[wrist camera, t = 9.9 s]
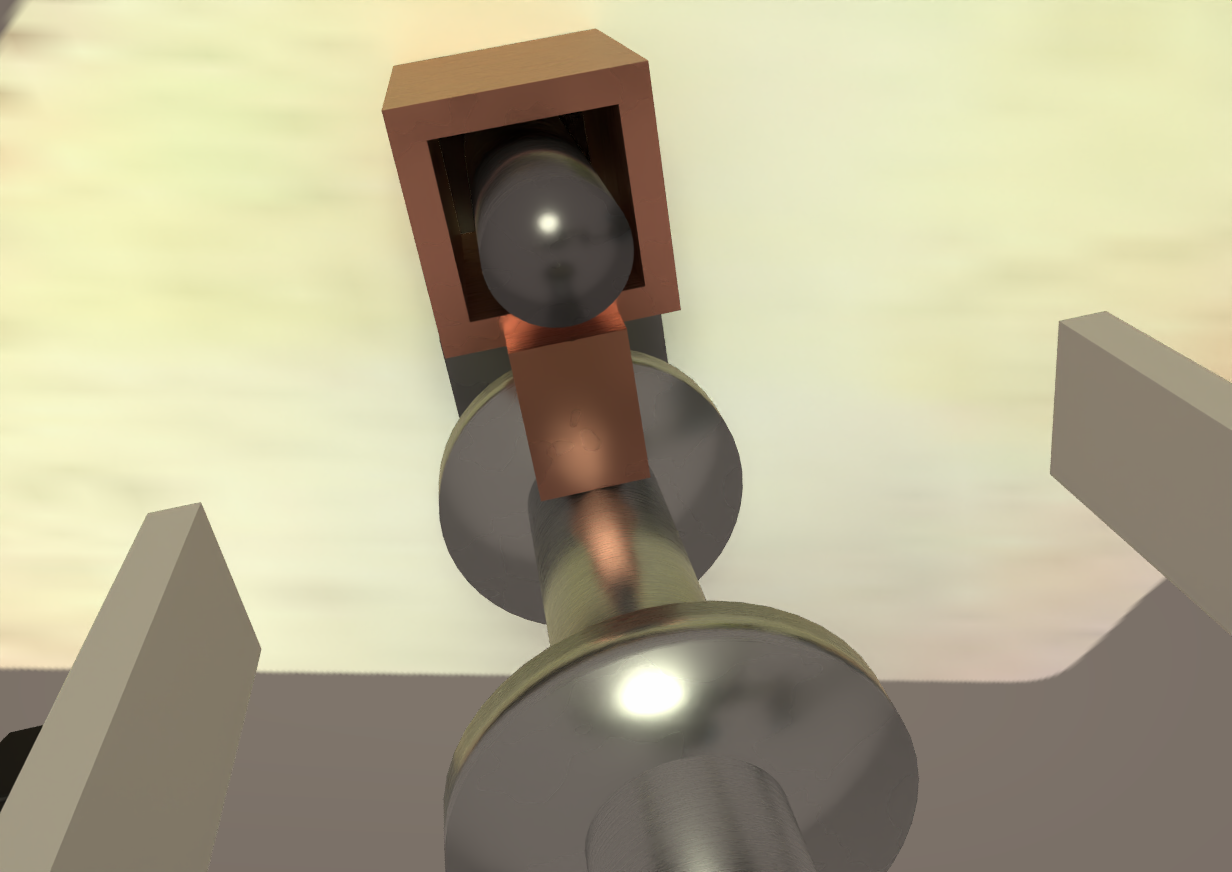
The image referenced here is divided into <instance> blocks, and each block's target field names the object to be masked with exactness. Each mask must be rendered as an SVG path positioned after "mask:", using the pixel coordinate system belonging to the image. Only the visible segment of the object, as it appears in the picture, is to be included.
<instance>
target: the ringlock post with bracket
mask: <svg viewBox="0 0 1232 872" xmlns="http://www.w3.org/2000/svg"><path fill="white" fill-rule="evenodd" d="M579 111H582V114H583V120H584V126H585V132H586V138H587V144H588V150H589V156H590V162H591V166H592V167H593V169H594V170H595V172H596V173H597V175H598V176H599V178H600V179H601V181H602V182H603V184H604V185H605V186H606V188H607V189H608V191H609V192H610V194H611V195H612V197H613V198H614V200H615V201H616V203H617V204H618V206H619V207H620V209H621V210H622V212H623V214H624V215H625V217H626V219H627V221H628V224H629V227H630V229H631V233H632V238H633V246H634V256H633V264H632V269H631V272H630V275H629V278H628V281H627V283H626V285H625V287H624V289H623V290H622V292H621V293H620V295H619V296H618V297H617V299H616V300H615V301H614V302H613V303H612V304H611V305H610V306H609V307H608V308H607V309H606V310H605V311H603V312H602V313H600V314H599V315H598V316H596V317H594V318H592V319H590V320H588V321H586V322H583V323H581V324H577V325H574V326H569V327H562V328H549V327H541V326H537V325H533V324H530V323H527V322H525V321H522V320H521V319H519V318H517V317H515V316H514V315H512V314H511V313H509V312H508V311H507V310H506V309H504V308H503V307H502V306H501V305H500V304H499V303H498V301H497V300H496V299H495V298H494V296H493V295H492V293H491V292H490V290H489V288H488V286H487V284H486V282H485V279H484V276H483V273H482V268H481V262H480V255H479V248H478V242H477V235H476V231H474V232H469V233H463V234H461V232H460V228H459V223H458V219H457V215H456V210H455V206H454V202H453V197H452V193H451V189H450V185H449V180H448V176H447V172H446V167H445V163H444V159H443V154H442V150H441V146H440V142H439V138H442V137H448V136H453V135H458V134H463V133H469V132H474V131H479V130H484V129H490V128H495V127H500V126H505V125H511V124H516V123H521V122H526V121H532V120H537V119H542V118H547V117H553V116H558V115H563V114H568V113H574V112H579ZM382 114H383V117H384V121H385V125H386V129H387V133H388V137H389V141H390V145H391V149H392V153H393V157H394V161H395V164H396V168H397V172H398V176H399V180H400V184H401V188H402V192H403V196H404V200H405V204H406V207H407V211H408V215H409V219H410V223H411V227H412V231H413V235H414V239H415V243H416V247H417V251H418V254H419V258H420V262H421V266H422V270H423V274H424V278H425V282H426V286H427V290H428V294H429V297H430V301H431V305H432V309H433V313H434V317H435V321H436V325H437V329H438V333H439V338H440V343H441V347H442V351H443V355H444V359H445V363H446V367H447V371H448V375H449V379H450V383H451V386H452V390H453V394H454V398H455V402H456V406H457V410H458V414H459V418H460V419H459V420H458V422H457V424H456V425H455V427H454V429H453V430H452V433H451V435H450V437H449V440H448V442H447V444H446V447H445V450H444V454H443V458H442V461H441V466H440V475H439V514H440V523H441V528H442V533H443V537H444V540H445V543H446V546H447V548H448V551H449V553H450V555H451V557H452V559H453V561H454V563H455V564H456V566H457V568H458V569H459V571H460V572H461V573H462V574H463V576H464V577H465V578H466V580H467V581H468V582H469V583H470V584H471V585H472V586H473V587H474V588H475V589H476V590H477V591H478V592H479V593H480V594H481V595H483V596H484V597H485V598H487V599H488V600H490V601H491V602H492V603H494V604H495V605H497V606H499V607H501V608H502V609H504V610H506V611H508V612H510V613H512V614H514V615H517V616H519V617H522V618H524V619H527V620H531V621H534V622H538V623H542V624H547V630H548V636H549V642H550V647H549V648H547V649H546V650H544V651H543V652H541V653H540V654H539V655H537V656H536V657H534V658H533V659H531V660H530V661H528V662H527V663H525V664H524V665H523V666H522V667H521V668H519V669H518V670H517V671H516V672H515V673H514V674H513V675H511V676H510V677H509V678H508V679H507V680H506V681H504V682H503V683H502V684H501V685H500V686H499V687H498V689H497V690H496V691H495V692H494V693H493V694H492V695H491V696H490V697H489V698H488V700H487V701H486V702H485V703H484V704H483V705H482V706H481V708H480V709H479V711H478V712H477V714H476V715H475V716H474V718H473V719H472V721H471V722H470V724H469V725H468V727H467V728H466V730H465V732H464V734H463V736H462V738H461V740H460V742H459V744H458V746H457V748H456V750H455V752H454V755H453V758H452V761H451V765H450V768H449V771H448V775H447V780H446V787H445V794H444V843H445V844H444V847H445V848H444V849H445V869H446V872H887V871H888V869H889V868H890V867H891V865H892V863H893V862H894V860H895V858H896V856H897V854H898V853H899V851H900V849H901V847H902V846H903V844H904V841H905V839H906V836H907V834H908V831H909V829H910V826H911V824H912V820H913V816H914V812H915V807H916V803H917V794H918V781H919V778H918V768H917V759H916V754H915V751H914V747H913V744H912V741H911V737H910V735H909V733H908V731H907V729H906V727H905V725H904V723H903V721H902V719H901V717H900V715H899V714H898V712H897V710H896V709H895V707H894V706H893V704H892V702H891V700H890V699H889V697H888V695H887V694H886V692H885V690H884V689H883V687H882V685H881V684H880V682H879V680H878V679H877V677H876V675H875V674H874V672H873V671H872V670H871V669H870V667H869V666H868V665H867V663H866V662H865V661H864V660H863V658H862V657H861V656H860V655H859V654H858V653H857V652H856V651H855V650H853V649H852V648H851V647H850V646H849V645H848V644H847V643H846V642H845V641H844V640H842V639H841V638H839V637H837V636H836V635H834V634H833V633H831V632H830V631H828V630H827V629H825V628H824V627H822V626H820V625H818V624H816V623H813V622H811V621H809V620H807V619H805V618H802V617H800V616H798V615H795V614H792V613H788V612H785V611H782V610H778V609H775V608H772V607H767V606H761V605H755V604H749V603H743V602H727V601H706V599H705V596H704V594H703V592H702V589H701V587H700V584H699V582H698V580H699V579H700V578H701V577H702V576H703V575H704V574H705V572H706V571H707V570H708V569H709V568H710V567H711V566H712V564H713V563H714V562H715V560H716V559H717V558H718V556H719V555H720V554H721V552H722V550H723V549H724V547H725V545H726V543H727V542H728V540H729V538H730V536H731V533H732V531H733V528H734V526H735V524H736V521H737V517H738V513H739V509H740V505H741V497H742V488H743V485H742V468H741V463H740V457H739V453H738V450H737V447H736V444H735V441H734V439H733V436H732V435H731V433H730V431H729V429H728V427H727V425H726V423H725V422H724V420H723V418H722V417H721V415H720V413H719V411H718V410H717V408H716V406H715V405H714V404H713V402H712V401H711V400H710V398H709V397H708V396H707V394H706V393H705V392H704V391H703V390H702V389H701V388H700V387H699V386H698V385H697V384H696V383H695V382H694V381H693V380H692V379H691V378H690V377H688V376H687V375H686V374H684V373H683V372H682V371H680V370H679V369H677V368H676V367H674V366H672V365H670V364H668V361H667V354H666V346H665V339H664V332H663V325H662V318H661V314H664V313H669V312H673V311H678V310H681V308H680V300H679V293H678V285H677V278H676V270H675V262H674V255H673V247H672V239H671V232H670V224H669V216H668V209H667V201H666V193H665V186H664V178H663V171H662V163H661V155H660V148H659V140H658V132H657V125H656V117H655V109H654V102H653V94H652V86H651V79H650V71H649V64H648V60H646V59H645V58H643V57H641V56H640V55H638V54H637V53H635V52H633V51H632V50H630V49H628V48H627V47H625V46H624V45H622V44H620V43H619V42H617V41H615V40H614V39H612V38H611V37H609V36H607V35H606V34H604V33H602V32H601V31H599V30H597V29H591V30H586V31H580V32H575V33H569V34H564V35H559V36H553V37H548V38H542V39H537V40H531V41H526V42H521V43H515V44H510V45H504V46H499V47H494V48H488V49H483V50H477V51H472V52H466V53H461V54H456V55H450V56H445V57H439V58H434V59H428V60H423V61H418V62H412V63H407V64H401V65H396V66H393V69H392V73H391V77H390V81H389V85H388V88H387V92H386V96H385V100H384V104H383V108H382Z"/></svg>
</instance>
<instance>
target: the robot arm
mask: <svg viewBox="0 0 1232 872" xmlns="http://www.w3.org/2000/svg"><path fill="white" fill-rule="evenodd" d="M1050 474H1051V475H1052V476H1053V477H1054V478H1055V479H1056V480H1057V481H1058V482H1060V483H1061V484H1062V485H1063V486H1064V487H1065V488H1066V489H1067V490H1068V491H1070V492H1071V493H1072V494H1073V495H1074V496H1075V497H1076V498H1077V499H1079V500H1080V501H1081V502H1082V503H1083V504H1084V505H1085V506H1086V507H1088V508H1089V509H1090V510H1091V511H1092V512H1093V513H1094V514H1095V515H1096V516H1098V517H1099V518H1100V519H1101V520H1102V521H1103V522H1104V523H1105V524H1107V525H1108V526H1109V527H1110V528H1111V529H1112V530H1113V531H1114V532H1116V533H1117V534H1118V535H1119V536H1120V537H1121V538H1122V539H1123V540H1124V541H1126V542H1127V543H1128V544H1129V545H1130V546H1131V547H1132V548H1133V549H1135V550H1136V551H1137V552H1138V553H1139V554H1140V555H1141V556H1142V557H1144V558H1145V559H1146V560H1147V561H1148V562H1149V563H1150V564H1151V565H1152V566H1154V567H1155V568H1156V569H1157V570H1158V571H1159V572H1160V573H1161V574H1163V575H1164V576H1165V577H1166V578H1167V579H1168V580H1169V581H1170V582H1172V583H1173V584H1174V585H1175V586H1176V587H1177V588H1178V589H1179V590H1180V591H1182V592H1183V593H1184V594H1185V595H1186V596H1187V597H1188V598H1189V599H1191V600H1192V601H1193V602H1194V603H1195V604H1196V605H1197V606H1198V607H1200V608H1201V609H1202V610H1203V611H1204V612H1205V613H1206V614H1207V615H1208V616H1210V617H1211V618H1212V619H1213V620H1214V621H1215V622H1216V623H1217V624H1219V625H1220V626H1221V627H1222V628H1223V629H1224V630H1225V631H1226V632H1228V633H1229V634H1230V635H1231V636H1232V383H1230V382H1229V381H1227V380H1225V379H1223V378H1222V377H1220V376H1218V375H1216V374H1215V373H1213V372H1211V371H1209V370H1208V369H1206V368H1204V367H1202V366H1201V365H1199V364H1197V363H1196V362H1194V361H1192V360H1190V359H1189V358H1187V357H1185V356H1183V355H1182V354H1180V353H1178V352H1176V351H1175V350H1173V349H1171V348H1169V347H1168V346H1166V345H1164V344H1162V343H1161V342H1159V341H1157V340H1155V339H1154V338H1152V337H1150V336H1149V335H1147V334H1145V333H1143V332H1142V331H1140V330H1138V329H1136V328H1135V327H1133V326H1131V325H1129V324H1128V323H1126V322H1124V321H1122V320H1121V319H1119V318H1117V317H1115V316H1114V315H1112V314H1110V313H1109V312H1107V311H1104V312H1099V313H1094V314H1090V315H1085V316H1080V317H1075V318H1071V319H1066V320H1061V321H1059V330H1058V346H1057V363H1056V380H1055V397H1054V414H1053V431H1052V448H1051V464H1050ZM260 653H261V647H260V644H259V642H258V639H257V637H256V635H255V632H254V630H253V627H252V625H251V622H250V620H249V618H248V615H247V613H246V610H245V608H244V605H243V603H242V601H241V598H240V596H239V593H238V591H237V588H236V586H235V584H234V581H233V579H232V576H231V574H230V571H229V569H228V567H227V564H226V562H225V559H224V557H223V554H222V552H221V550H220V547H219V545H218V542H217V540H216V537H215V535H214V533H213V530H212V528H211V525H210V523H209V520H208V518H207V516H206V513H205V511H204V508H203V506H202V503H201V502H199V503H194V504H190V505H185V506H180V507H175V508H171V509H166V510H161V511H157V512H152V513H148V514H147V516H146V518H145V520H144V522H143V524H142V526H141V528H140V530H139V532H138V534H137V536H136V538H135V540H134V542H133V544H132V546H131V548H130V550H129V552H128V554H127V556H126V558H125V560H124V562H123V564H122V566H121V568H120V570H119V572H118V575H117V577H116V579H115V581H114V583H113V585H112V587H111V589H110V591H109V593H108V595H107V597H106V599H105V601H104V603H103V605H102V607H101V609H100V611H99V613H98V615H97V617H96V619H95V621H94V623H93V625H92V627H91V629H90V631H89V633H88V635H87V638H86V640H85V642H84V644H83V646H82V648H81V650H80V652H79V654H78V656H77V658H76V660H75V662H74V664H73V666H72V668H71V670H70V672H69V674H68V676H67V678H66V680H65V682H64V684H63V686H62V689H61V690H60V693H59V694H58V696H57V698H56V701H55V703H54V705H53V707H52V709H51V711H50V713H49V715H48V717H47V719H46V721H45V723H44V725H42V726H37V727H33V728H28V729H24V730H19V731H15V732H11V733H9V734H8V735H7V736H6V737H5V738H4V739H3V740H2V741H1V742H0V872H208V868H209V863H210V859H211V855H212V851H213V847H214V843H215V839H216V835H217V830H218V826H219V822H220V818H221V814H222V810H223V806H224V802H225V797H226V793H227V789H228V785H229V781H230V777H231V773H232V768H233V764H234V760H235V756H236V752H237V748H238V744H239V740H240V735H241V731H242V727H243V723H244V719H245V715H246V711H247V707H248V703H249V698H250V694H251V690H252V686H253V682H254V678H255V674H256V670H257V665H258V661H259V657H260Z"/></svg>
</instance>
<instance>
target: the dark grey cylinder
mask: <svg viewBox="0 0 1232 872" xmlns="http://www.w3.org/2000/svg"><path fill="white" fill-rule="evenodd" d="M464 155H465V161H466V168H467V175H468V181H469V188H470V195H471V202H472V208H473V215H474V222H475V228H476V235H477V242H478V248H479V255H480V262H481V268H482V273H483V276H484V279H485V282H486V284H487V286H488V288H489V290H490V292H491V293H492V295H493V296H494V298H495V299H496V300H497V301H498V303H499V304H500V305H501V306H502V307H503V308H504V309H506V310H507V311H508V312H509V313H511V314H512V315H514V316H515V317H517V318H519V319H521V320H522V321H525V322H527V323H530V324H533V325H537V326H541V327H549V328H562V327H569V326H574V325H577V324H581V323H583V322H586V321H588V320H590V319H592V318H594V317H596V316H598V315H599V314H600V313H602V312H603V311H605V310H606V309H607V308H608V307H609V306H610V305H611V304H612V303H613V302H614V301H615V300H616V299H617V297H618V296H619V295H620V293H621V292H622V290H623V289H624V287H625V285H626V283H627V281H628V278H629V275H630V272H631V269H632V264H633V256H634V246H633V238H632V233H631V229H630V227H629V224H628V221H627V219H626V217H625V215H624V214H623V212H622V210H621V209H620V207H619V206H618V204H617V203H616V201H615V200H614V198H613V197H612V195H611V194H610V192H609V191H608V189H607V188H606V186H605V185H604V184H603V182H602V181H601V179H600V178H599V176H598V175H597V173H596V172H595V170H594V169H593V167H592V166H591V164H590V163H589V161H588V160H587V158H586V157H585V155H584V154H583V152H582V151H581V149H580V148H579V146H578V145H577V143H576V142H575V140H574V139H573V137H572V136H571V134H570V133H569V131H568V130H567V128H566V127H565V125H564V124H563V122H562V121H561V119H560V118H559V117H558V116H553V117H547V118H542V119H537V120H532V121H526V122H521V123H516V124H511V125H505V126H500V127H495V128H490V129H484V130H479V131H474V132H469V133H466V135H465V140H464Z"/></svg>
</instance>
